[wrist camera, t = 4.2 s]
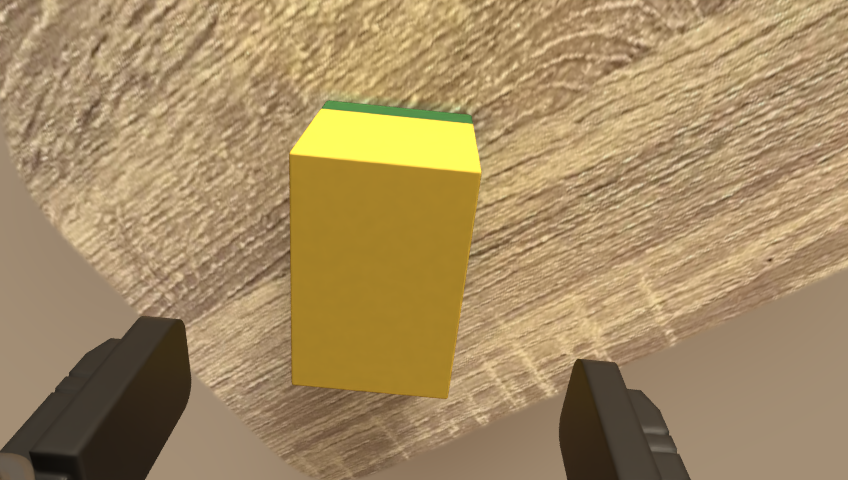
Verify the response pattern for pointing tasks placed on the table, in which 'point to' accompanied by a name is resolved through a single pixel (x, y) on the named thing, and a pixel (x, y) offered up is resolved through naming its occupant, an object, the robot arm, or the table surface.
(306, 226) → the sponge
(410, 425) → the table surface
